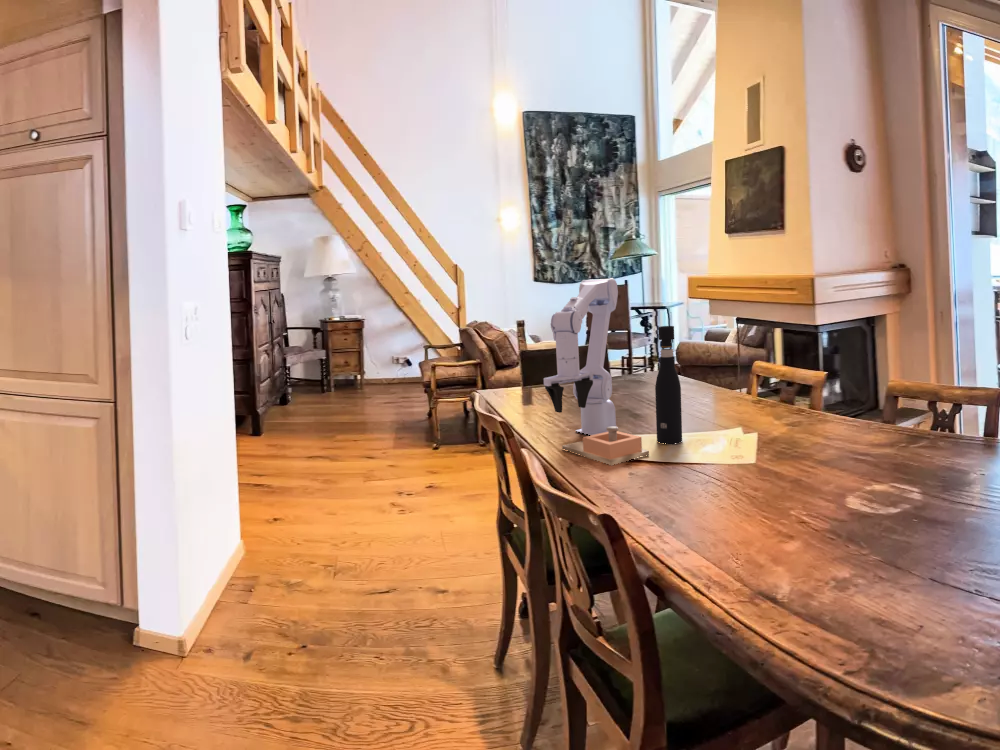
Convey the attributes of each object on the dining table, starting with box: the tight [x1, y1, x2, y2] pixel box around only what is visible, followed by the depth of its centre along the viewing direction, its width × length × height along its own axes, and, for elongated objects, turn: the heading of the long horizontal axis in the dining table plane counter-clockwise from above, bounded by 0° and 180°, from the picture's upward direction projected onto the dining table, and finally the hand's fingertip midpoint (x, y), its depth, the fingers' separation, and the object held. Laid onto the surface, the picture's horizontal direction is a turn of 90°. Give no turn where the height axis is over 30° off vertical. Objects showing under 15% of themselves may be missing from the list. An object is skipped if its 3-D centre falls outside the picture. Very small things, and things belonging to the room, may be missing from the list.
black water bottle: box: [654, 325, 683, 445], centre depth 163 cm, size 6×6×30 cm
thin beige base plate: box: [561, 426, 650, 466], centre depth 158 cm, size 12×19×7 cm, turn 30°
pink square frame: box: [582, 430, 643, 459], centre depth 155 cm, size 10×10×4 cm
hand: (570, 409), depth 165 cm, fingers open, 7 cm apart
